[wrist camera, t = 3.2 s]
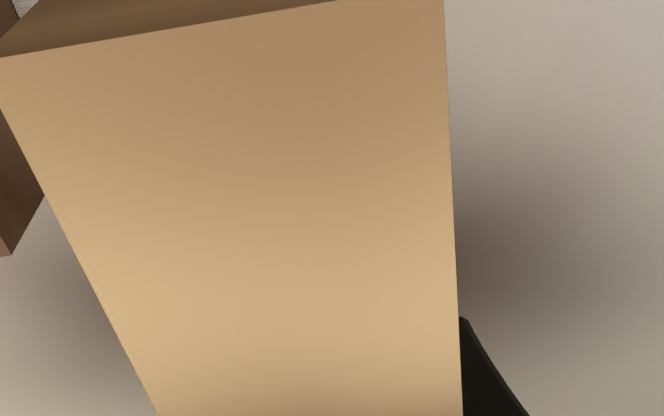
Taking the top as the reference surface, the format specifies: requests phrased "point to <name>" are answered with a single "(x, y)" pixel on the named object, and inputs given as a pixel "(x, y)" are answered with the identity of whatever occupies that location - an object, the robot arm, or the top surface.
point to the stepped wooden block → (14, 170)
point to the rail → (253, 194)
